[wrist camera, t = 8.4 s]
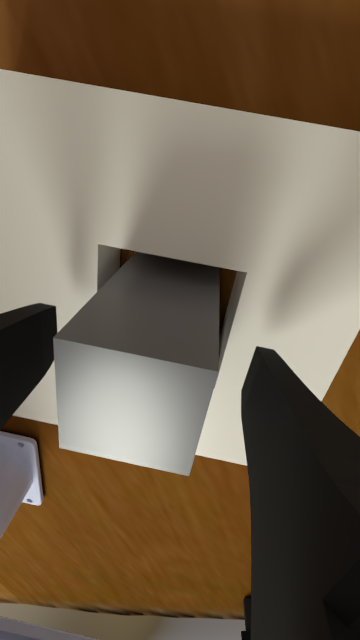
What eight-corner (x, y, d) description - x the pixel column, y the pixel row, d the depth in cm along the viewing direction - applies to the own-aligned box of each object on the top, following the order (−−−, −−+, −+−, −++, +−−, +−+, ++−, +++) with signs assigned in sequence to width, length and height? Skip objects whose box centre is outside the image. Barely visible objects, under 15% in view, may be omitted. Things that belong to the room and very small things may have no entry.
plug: (130, 322, 16) (59, 447, 9) (137, 250, 14) (52, 337, 7) (203, 337, 16) (189, 476, 9) (219, 266, 14) (218, 371, 7)
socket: (39, 379, 19) (9, 414, 16) (11, 83, 11) (-51, 60, 9) (274, 428, 18) (283, 473, 16) (398, 151, 11) (454, 147, 8)
